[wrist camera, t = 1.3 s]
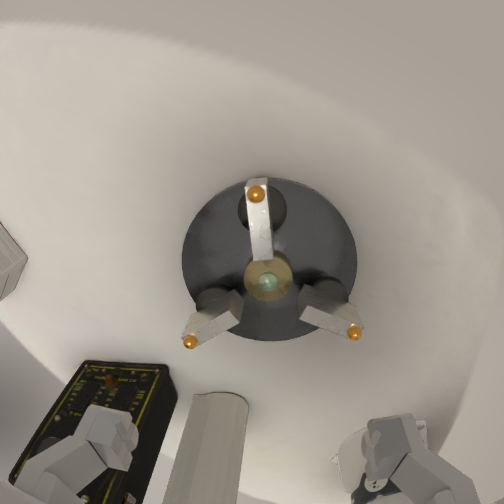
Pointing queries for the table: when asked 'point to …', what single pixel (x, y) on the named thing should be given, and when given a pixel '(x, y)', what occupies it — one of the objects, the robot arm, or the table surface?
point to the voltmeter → (119, 398)
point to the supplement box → (9, 263)
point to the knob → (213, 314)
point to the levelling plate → (293, 237)
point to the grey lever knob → (262, 215)
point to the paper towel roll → (209, 452)
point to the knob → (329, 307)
